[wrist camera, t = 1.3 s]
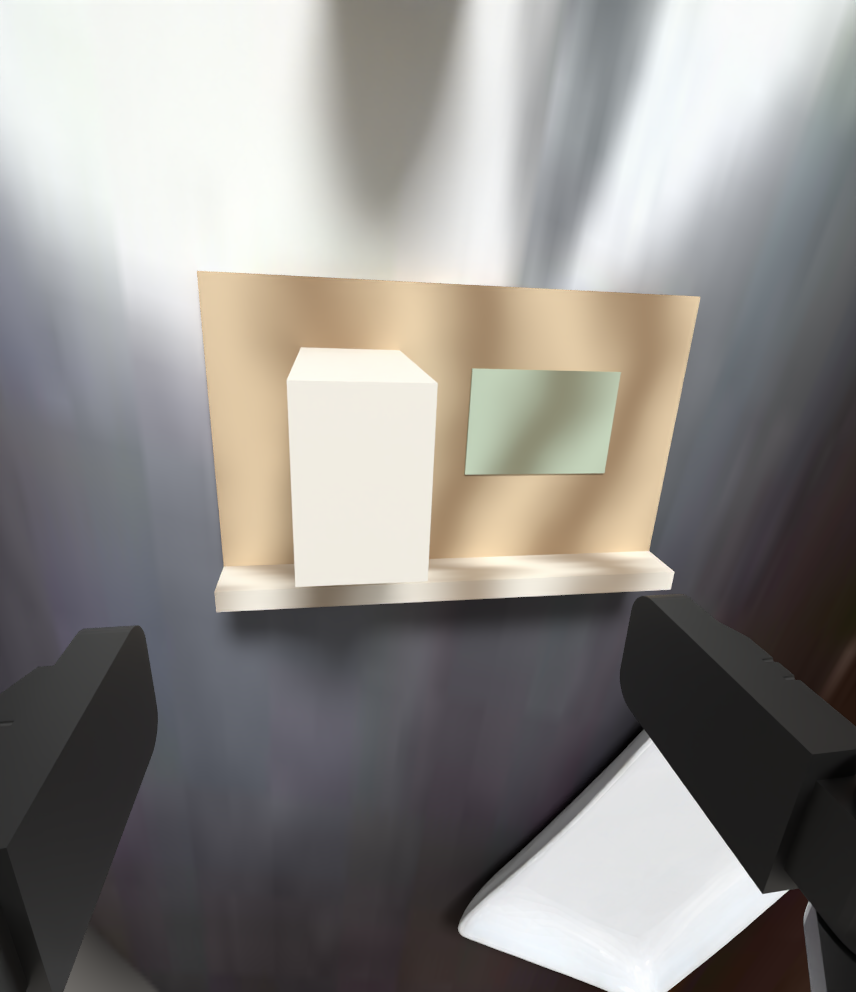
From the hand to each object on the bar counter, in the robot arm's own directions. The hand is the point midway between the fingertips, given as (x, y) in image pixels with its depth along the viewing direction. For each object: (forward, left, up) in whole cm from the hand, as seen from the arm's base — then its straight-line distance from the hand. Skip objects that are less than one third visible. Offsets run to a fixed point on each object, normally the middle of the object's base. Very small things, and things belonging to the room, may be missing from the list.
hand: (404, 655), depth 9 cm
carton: (0, 0, -17) cm, 17 cm away
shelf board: (+5, -1, -18) cm, 19 cm away
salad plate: (+21, -31, -19) cm, 42 cm away
